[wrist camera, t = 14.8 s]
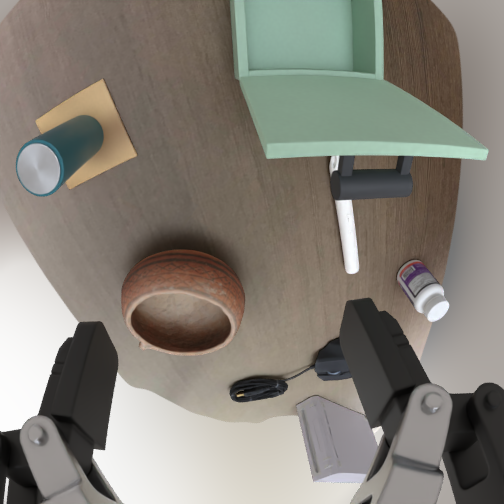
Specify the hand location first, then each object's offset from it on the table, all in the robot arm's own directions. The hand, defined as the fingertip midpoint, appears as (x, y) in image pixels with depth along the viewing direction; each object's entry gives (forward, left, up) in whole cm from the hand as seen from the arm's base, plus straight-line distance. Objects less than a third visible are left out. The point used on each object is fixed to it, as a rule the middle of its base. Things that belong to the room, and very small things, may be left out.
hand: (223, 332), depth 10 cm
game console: (+71, +4, -28) cm, 76 cm away
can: (-6, -14, -28) cm, 32 cm away
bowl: (+17, -11, -28) cm, 35 cm away
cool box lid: (-3, +10, -14) cm, 18 cm away
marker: (+15, +12, -28) cm, 34 cm away
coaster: (-6, -14, -28) cm, 32 cm away
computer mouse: (+45, +1, -28) cm, 53 cm away
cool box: (-10, +12, -28) cm, 32 cm away
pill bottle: (+30, +22, -28) cm, 47 cm away
